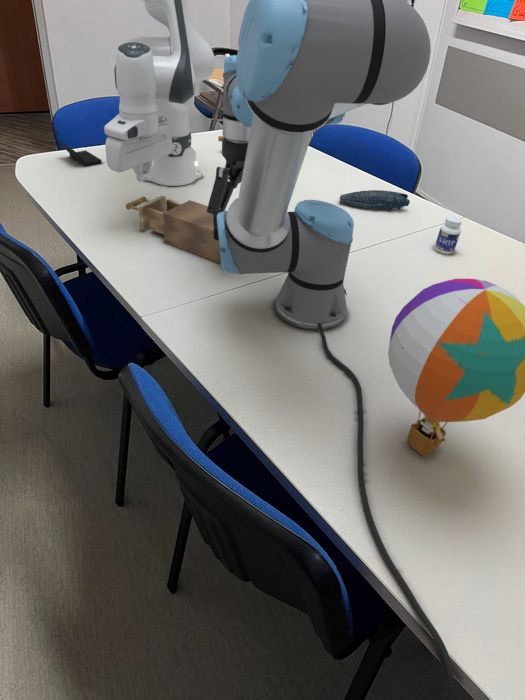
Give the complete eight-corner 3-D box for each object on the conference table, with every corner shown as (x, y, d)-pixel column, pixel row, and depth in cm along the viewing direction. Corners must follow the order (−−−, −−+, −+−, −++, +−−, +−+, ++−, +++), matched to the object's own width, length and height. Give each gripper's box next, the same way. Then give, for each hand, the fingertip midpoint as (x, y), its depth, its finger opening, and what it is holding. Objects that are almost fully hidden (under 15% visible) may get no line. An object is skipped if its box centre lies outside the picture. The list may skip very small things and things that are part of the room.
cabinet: (164, 242, 132) (163, 212, 127) (190, 228, 139) (189, 199, 134) (232, 268, 124) (233, 238, 119) (255, 251, 132) (257, 222, 127)
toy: (336, 437, 84) (375, 278, 66) (409, 388, 95) (460, 239, 76) (438, 521, 73) (519, 358, 55) (507, 455, 84) (595, 300, 65)
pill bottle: (433, 251, 139) (442, 220, 133) (435, 243, 143) (444, 213, 137) (453, 256, 138) (464, 225, 132) (454, 247, 142) (465, 217, 136)
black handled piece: (106, 156, 172) (85, 134, 163) (94, 173, 170) (73, 152, 162) (85, 152, 178) (64, 130, 170) (74, 169, 177) (52, 148, 168)
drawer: (123, 222, 137) (120, 199, 134) (146, 210, 144) (145, 189, 140) (200, 251, 128) (200, 228, 124) (222, 238, 134) (223, 215, 130)
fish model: (408, 214, 157) (412, 198, 153) (339, 207, 158) (341, 191, 154) (406, 206, 162) (410, 190, 159) (339, 199, 163) (341, 183, 160)
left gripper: (157, 111, 132) (160, 166, 140) (98, 128, 118) (105, 187, 126) (177, 117, 129) (179, 172, 138) (119, 134, 115) (124, 194, 124)
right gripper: (255, 124, 121) (250, 210, 134) (189, 147, 104) (191, 244, 117) (283, 130, 119) (275, 218, 131) (220, 155, 101) (218, 253, 114)
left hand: (143, 179), depth 132 cm, fingers closed
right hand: (235, 230), depth 124 cm, fingers open, 13 cm apart
